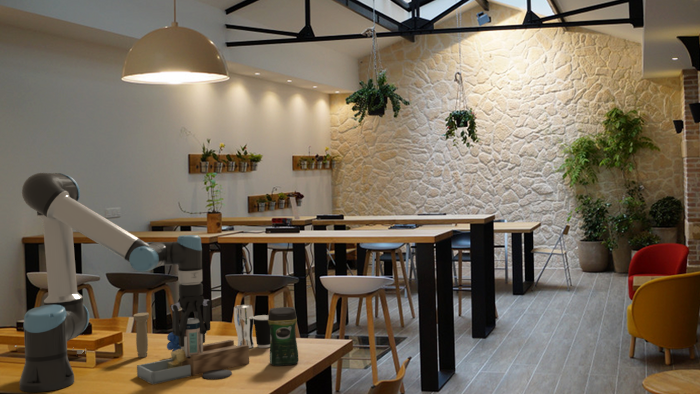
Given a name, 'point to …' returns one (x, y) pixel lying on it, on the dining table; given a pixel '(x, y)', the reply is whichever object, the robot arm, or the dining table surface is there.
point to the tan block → (178, 356)
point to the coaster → (217, 374)
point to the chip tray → (162, 372)
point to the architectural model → (79, 351)
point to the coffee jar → (283, 336)
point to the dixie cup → (262, 331)
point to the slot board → (218, 357)
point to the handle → (141, 334)
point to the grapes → (173, 342)
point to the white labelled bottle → (193, 336)
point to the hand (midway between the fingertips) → (192, 354)
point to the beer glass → (244, 324)
